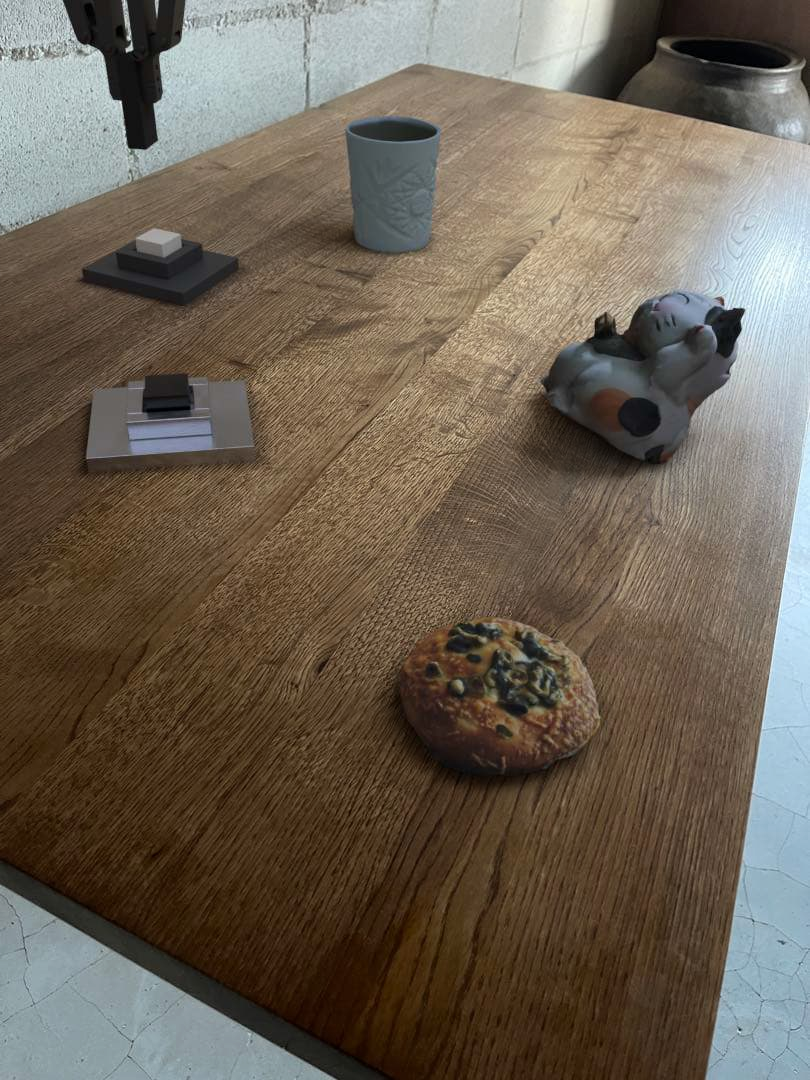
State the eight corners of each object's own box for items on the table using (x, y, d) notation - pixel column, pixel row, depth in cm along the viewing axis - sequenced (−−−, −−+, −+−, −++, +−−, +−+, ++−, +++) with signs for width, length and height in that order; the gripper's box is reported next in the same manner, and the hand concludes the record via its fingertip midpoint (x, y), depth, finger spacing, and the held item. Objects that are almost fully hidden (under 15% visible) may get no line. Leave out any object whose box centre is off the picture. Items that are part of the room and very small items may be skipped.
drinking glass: (435, 257, 101) (442, 143, 93) (343, 254, 101) (343, 139, 93) (432, 224, 109) (439, 116, 101) (347, 221, 109) (347, 112, 101)
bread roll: (380, 765, 47) (389, 691, 45) (410, 638, 57) (420, 571, 54) (594, 806, 47) (617, 733, 44) (589, 670, 56) (607, 603, 54)
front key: (147, 414, 69) (144, 396, 68) (147, 393, 71) (144, 375, 70) (190, 411, 69) (188, 393, 68) (189, 390, 72) (187, 372, 71)
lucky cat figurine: (541, 373, 81) (636, 231, 76) (655, 447, 81) (758, 312, 76) (524, 411, 68) (638, 242, 62) (660, 500, 68) (787, 340, 62)
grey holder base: (88, 474, 67) (81, 439, 65) (96, 404, 74) (90, 371, 73) (255, 461, 69) (252, 427, 67) (246, 394, 77) (243, 362, 75)
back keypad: (83, 281, 92) (78, 252, 91) (143, 248, 100) (139, 221, 98) (184, 306, 89) (181, 277, 87) (239, 270, 96) (237, 242, 94)
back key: (136, 253, 92) (134, 238, 91) (155, 242, 94) (154, 227, 93) (163, 259, 91) (161, 244, 90) (182, 248, 93) (180, 233, 92)
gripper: (208, -230, 62) (234, 138, 77) (24, -239, 63) (85, 125, 78) (169, -234, 56) (206, 165, 71) (-32, -244, 57) (45, 150, 72)
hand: (143, 144), depth 74 cm, fingers closed
